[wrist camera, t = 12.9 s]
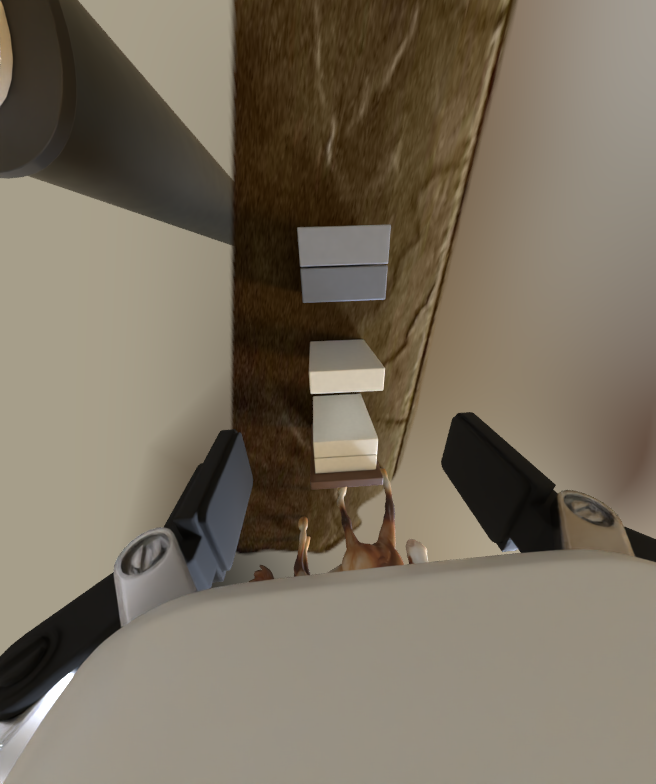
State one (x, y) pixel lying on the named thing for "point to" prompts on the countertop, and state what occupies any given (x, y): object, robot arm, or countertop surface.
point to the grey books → (343, 262)
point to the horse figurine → (358, 544)
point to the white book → (344, 367)
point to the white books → (343, 443)
